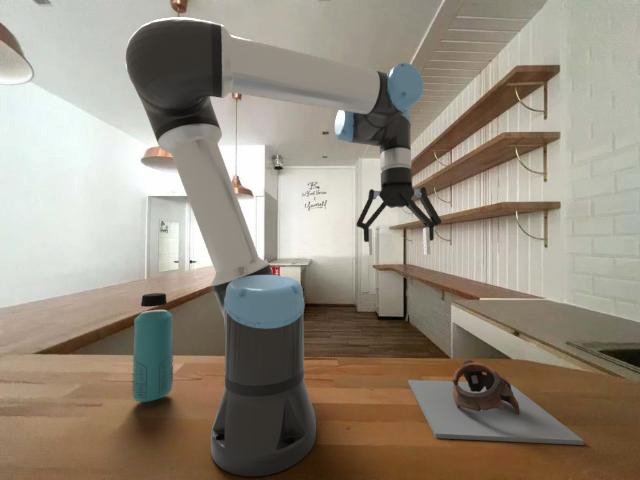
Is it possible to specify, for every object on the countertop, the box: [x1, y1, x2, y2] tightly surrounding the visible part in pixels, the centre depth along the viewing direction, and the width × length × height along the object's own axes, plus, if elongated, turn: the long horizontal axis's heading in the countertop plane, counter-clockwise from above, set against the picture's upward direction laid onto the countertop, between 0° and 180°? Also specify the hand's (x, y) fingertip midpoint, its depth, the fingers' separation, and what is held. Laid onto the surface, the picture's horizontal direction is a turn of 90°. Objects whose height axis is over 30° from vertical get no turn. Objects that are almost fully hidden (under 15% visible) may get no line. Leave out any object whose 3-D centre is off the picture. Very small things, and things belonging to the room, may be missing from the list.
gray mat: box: [407, 379, 585, 446], centre depth 47 cm, size 20×17×1 cm
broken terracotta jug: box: [452, 359, 520, 414], centre depth 47 cm, size 12×10×8 cm
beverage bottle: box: [131, 292, 174, 403], centre depth 51 cm, size 6×7×20 cm
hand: (398, 255), depth 67 cm, fingers open, 13 cm apart
